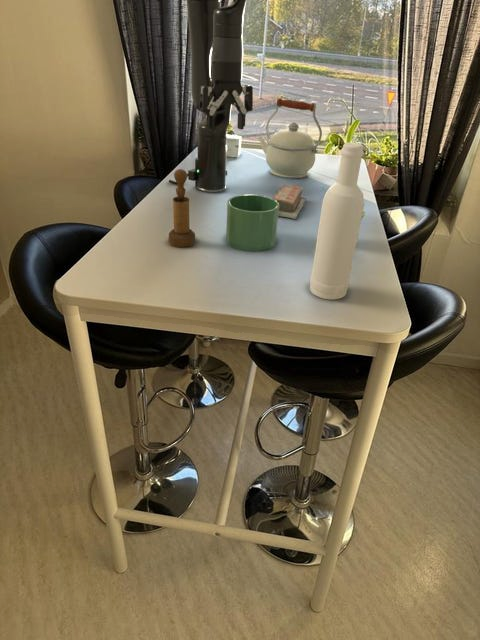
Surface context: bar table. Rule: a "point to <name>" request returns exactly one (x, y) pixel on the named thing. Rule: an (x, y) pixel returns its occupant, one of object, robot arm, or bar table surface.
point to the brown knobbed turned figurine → (181, 215)
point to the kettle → (291, 145)
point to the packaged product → (289, 201)
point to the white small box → (233, 145)
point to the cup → (252, 222)
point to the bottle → (339, 228)
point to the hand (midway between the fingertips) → (225, 129)
